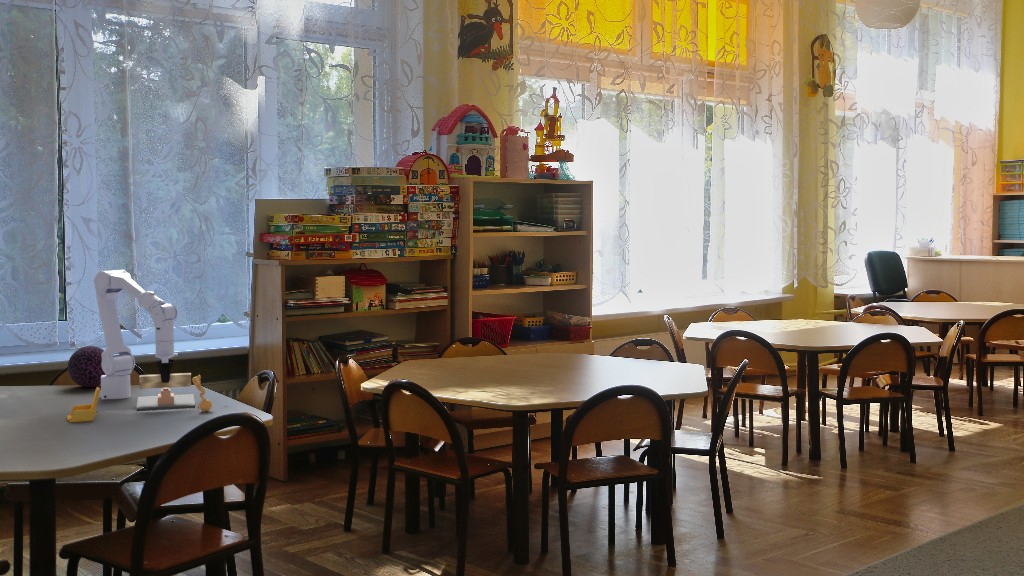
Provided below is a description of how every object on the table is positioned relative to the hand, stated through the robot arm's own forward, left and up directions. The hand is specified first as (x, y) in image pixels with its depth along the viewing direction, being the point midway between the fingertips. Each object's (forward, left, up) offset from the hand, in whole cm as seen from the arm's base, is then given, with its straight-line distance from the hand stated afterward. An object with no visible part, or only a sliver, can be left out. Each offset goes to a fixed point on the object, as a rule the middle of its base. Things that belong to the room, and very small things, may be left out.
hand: (165, 381), depth 336 cm
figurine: (+11, -14, -8) cm, 20 cm away
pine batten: (0, 0, -2) cm, 2 cm away
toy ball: (-26, +46, -8) cm, 53 cm away
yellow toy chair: (-24, -13, -8) cm, 29 cm away
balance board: (0, +3, -8) cm, 9 cm away
